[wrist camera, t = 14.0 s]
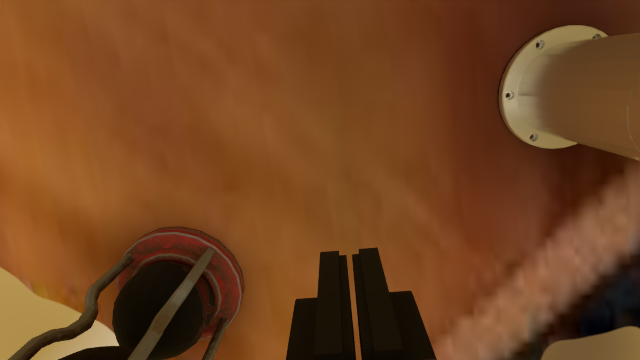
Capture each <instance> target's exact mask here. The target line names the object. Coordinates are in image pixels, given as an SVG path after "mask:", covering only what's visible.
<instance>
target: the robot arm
mask: <svg viewBox="0 0 640 360" xmlns="http://www.w3.org/2000/svg"><path fill="white" fill-rule="evenodd" d="M536 43H537V47H536ZM507 93H508V97H506V94H507ZM498 99H499V108H500V112H501V115H502V118H503V121H504V122H505V124H506V126H507V127H508V129H509V130H510V131H511V132H512V133H513V134H514V135H515V136H516V137H517V138H519V139H520V140H522V141H523V142H526V143H528V144H531V145H533V146H537V147H540V148H548V149H557V148H565V147H569V146H572V145H576V144H578V143H579V144H583V145H586V146H590V147H593V148H597V149H600V150H604V151H607V152H611V153H615V154H618V155H622V156H625V157H629V158H632V159H636V160H639V161H640V32H638V33H630V34H623V35H615V36H608V35H607V34H605V33H604V32H602V31H600V30H598V29H596V28H593V27H589V26H583V25H568V26H563V27H557V28H554V29H551V30H548V31H545V32H543V33H541V34H539V35H537V36H535V37H534V38H532V39H531V40H530V41H528V42H527V43H526V44H524V45H523V46H522V47H521V48H520V50H519V51H518V52H517V53H516V54H515V55H514V56H513V58H512V59H511V61H510V62H509V64H508V65H507V67H506V70H505V72H504V74H503V76H502V80H501V83H500V87H499V98H498ZM531 135H532V136H531ZM530 136H531V138H530ZM352 260H353V271H354V282H355V293H356V304H357V315H358V326H359V337H360V347H361V356H362V360H437V359H436V357H435V354H434V351H433V348H432V346H431V343H430V340H429V337H428V335H427V332H426V329H425V326H424V324H423V321H422V318H421V316H420V313H419V310H418V307H417V305H416V302H415V299H414V296H413V294H412V292H411V291H400V292H389V290H388V287H387V283H386V279H385V275H384V271H383V267H382V264H381V260H380V256H379V252H378V248H367V249H359V254H354V255H352ZM286 360H356V354H355V342H354V331H353V321H352V310H351V300H350V289H349V279H348V268H347V258H346V255H341V256H339V251H330V252H320V265H319V280H318V296H317V298H304V299H296V301H295V306H294V312H293V318H292V325H291V331H290V337H289V343H288V350H287V356H286Z"/></svg>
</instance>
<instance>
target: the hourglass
mask: <svg viewBox="0 0 640 360" xmlns="http://www.w3.org/2000/svg"><path fill="white" fill-rule="evenodd" d="M116 277H117V288H118V291H119V295H118V297H117V299H116V301H115V303H114V309H113V320H112V324H113V328H114V332H115V336H116V339H117V341H118V343H119V346H107V347H106V346H105V347H95V348H87V349H84V350H81V351H78V352H76V353H73V354H70V355H68V356H66V357H63V358H61V359H58V360H165V359H169V358H172V357H175V356H178V355H180V354H181V353H183V352H185V351H186V350H188V349H189V348H190V347H192V346H193V345H194V344H195V343H197V341H198V340H203V339H205V338H208V337H211V336H213V337H212V339H211V341H210V343H209V345H208V348H207V350H206V352H205V354H204V356H203V359H202V360H213V358H214V356H215V353H216V351H217V348H218V346H219V344H220V341H221V339H222V336H223V334H224V331H225V329H226V327H227V326H228V325H230V324H231V322H232V320H233V319H234V317H235V316H236V314H237V312H238V311H239V308H240V306H241V303H242V297H243V292H244V283H243V278H242V272H241V270H240V268H239V266H238V264H237V262H236V261H235V259H234V257H233V255H232V254H231V253H230V252H229V251H228V250H227V249H226V248H225V247H224V246H223V245H222V244H221V243H220V242H218V241H217V240H215V239H213V238H211V237H209V236H207V235H206V234H204V233H202V232H200V231H195V230H190V229H186V228H181V227H177V228H164V229H159V230H156V231H154V232H151V233H149V234H147V235H144V236H143V237H142V238H140V239H139V240H138V241H137V242H136V243H135V244H134V245H133V246H132V247H130V248H129V249H128V250H127V251H126V252H125V253H124V256H123V258H122V259H121V260H120V261H119V262H118V263H117V264H116V265H114V266H113V267H112V268H111V269H110V270H109V271H108V272H106V273H105V274H104V275H103V276H102V277H101V278H100V279H99V280H97V281H96V282H95V283H94V284H93V285H92V286H91V287H89V289H88V292H87V294H86V296H85V310H84V312H83V313H82V315H81V316H80V318H79V319H78V320H77V321H76V322H74V323H72V324H71V325H69V326H68V327H66V328H59V329H53V330H50V331H48V332H45V333H43V334H41V335H39V336H37V337H34V338H32V339H31V340H30V341H28V342H27V343H26V344H25V345H24V346H23V347H22V348H21V349H20V350H18V351H17V352H16V353H15V354H14V355H13V356H12V357H11V358H9V359H8V360H30V359H31V358H32V357H33V356H34V355H35V354H36V353H37V352H38V351H39V350H40V349H41V348H43V347H45V346H47V345H50V344H52V343H54V342H59V341H65V340H71V339H73V338H75V337H77V336H79V335H80V334H82V333H84V332H85V331H87V330H88V329H90V328H91V326H92V325H93V323H94V321H95V319H96V317H97V315H98V304H97V300H98V297H99V294H100V292H101V291H103V290H104V289H105V288H106V287H107V286H108V285H109V284H110V283H111V282H112V281H113V280H114V279H115V278H116Z"/></svg>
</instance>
